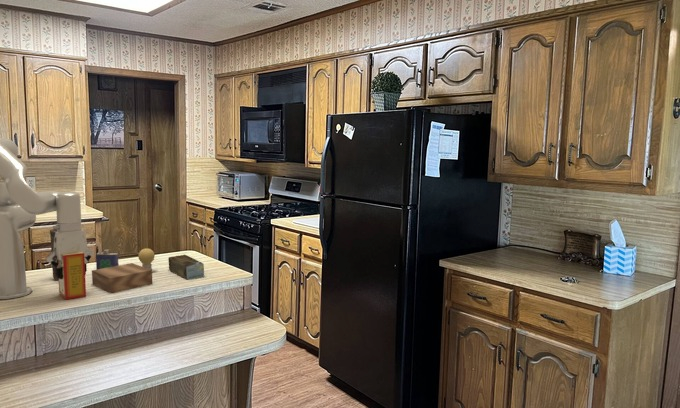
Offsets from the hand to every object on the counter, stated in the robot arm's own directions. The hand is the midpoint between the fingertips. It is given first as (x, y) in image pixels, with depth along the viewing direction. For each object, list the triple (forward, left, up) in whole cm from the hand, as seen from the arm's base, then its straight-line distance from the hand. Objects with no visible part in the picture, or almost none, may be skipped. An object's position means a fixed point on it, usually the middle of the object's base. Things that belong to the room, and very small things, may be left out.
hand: (71, 275), depth 178 cm
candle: (+7, +26, -7) cm, 28 cm away
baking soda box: (0, 0, -7) cm, 7 cm away
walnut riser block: (+18, 0, -8) cm, 20 cm away
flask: (+21, +18, -7) cm, 29 cm away
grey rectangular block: (+43, -5, -8) cm, 44 cm away
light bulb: (+34, +10, -7) cm, 36 cm away
